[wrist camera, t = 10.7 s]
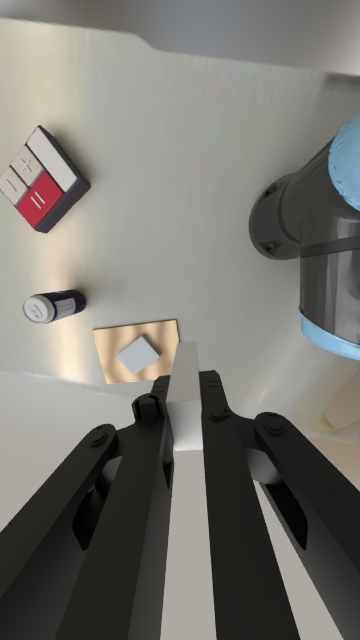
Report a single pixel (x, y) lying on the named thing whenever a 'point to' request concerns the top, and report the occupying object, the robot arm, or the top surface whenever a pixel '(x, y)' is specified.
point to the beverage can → (53, 306)
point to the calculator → (43, 181)
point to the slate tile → (138, 354)
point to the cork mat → (121, 337)
